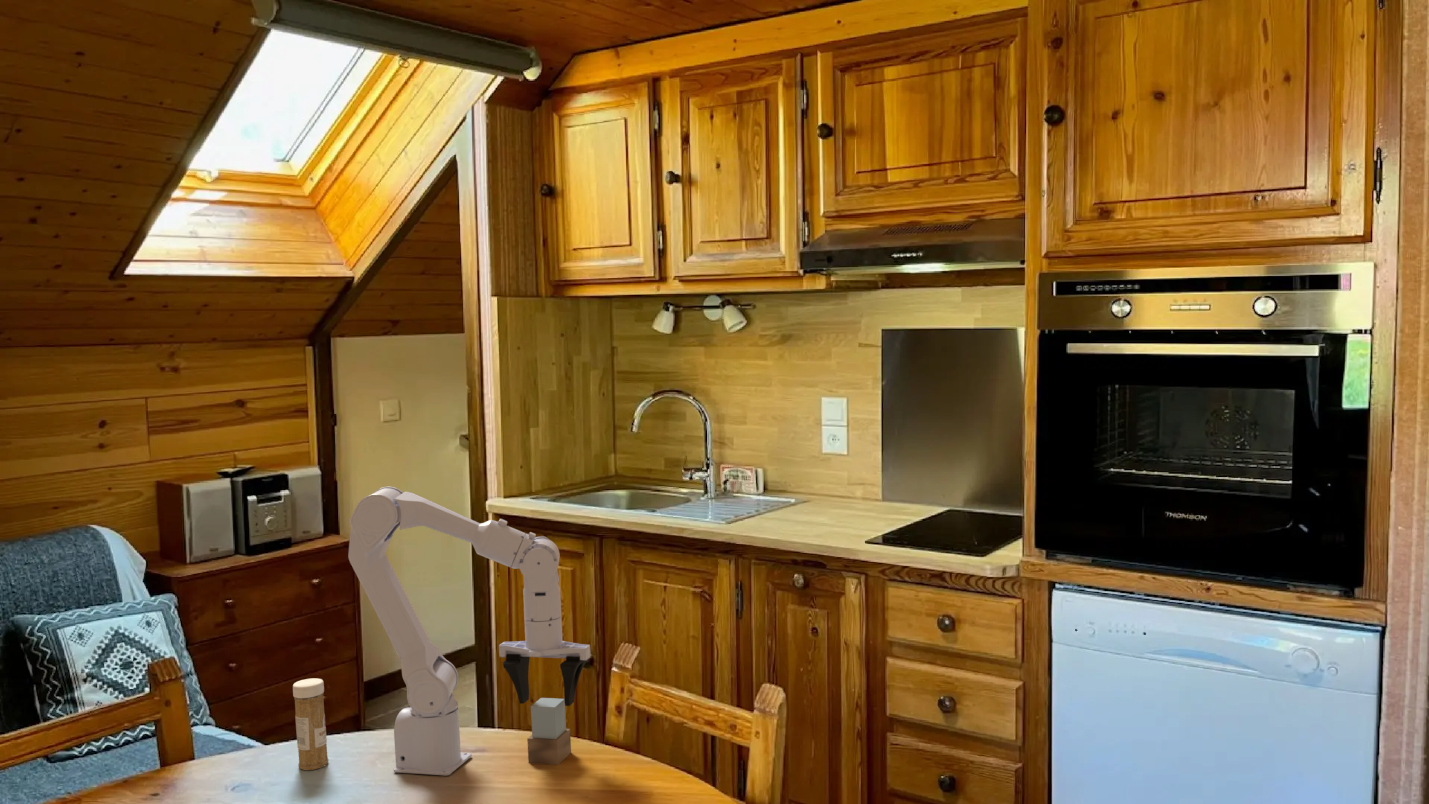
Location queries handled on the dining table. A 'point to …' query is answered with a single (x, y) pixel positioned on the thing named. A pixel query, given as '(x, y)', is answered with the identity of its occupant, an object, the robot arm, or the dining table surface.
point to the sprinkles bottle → (310, 723)
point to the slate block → (548, 718)
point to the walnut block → (549, 749)
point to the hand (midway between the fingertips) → (546, 702)
